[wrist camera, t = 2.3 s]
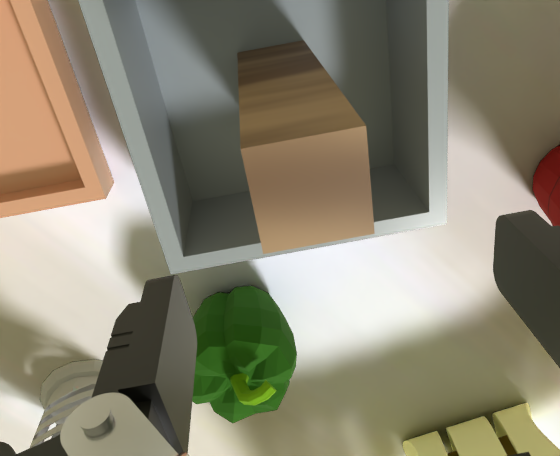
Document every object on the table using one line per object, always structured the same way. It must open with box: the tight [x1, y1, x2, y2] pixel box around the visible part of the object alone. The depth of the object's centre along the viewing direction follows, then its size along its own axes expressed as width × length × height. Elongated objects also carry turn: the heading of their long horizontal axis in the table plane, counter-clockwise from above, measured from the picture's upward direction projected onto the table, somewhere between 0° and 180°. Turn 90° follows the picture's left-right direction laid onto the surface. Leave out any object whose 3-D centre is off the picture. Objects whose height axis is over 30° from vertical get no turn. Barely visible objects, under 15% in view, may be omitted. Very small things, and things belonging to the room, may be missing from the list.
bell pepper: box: [192, 286, 297, 423], centre depth 36 cm, size 8×8×10 cm
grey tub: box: [78, 0, 449, 274], centre depth 28 cm, size 16×16×8 cm
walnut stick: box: [237, 40, 375, 254], centre depth 24 cm, size 4×4×16 cm
